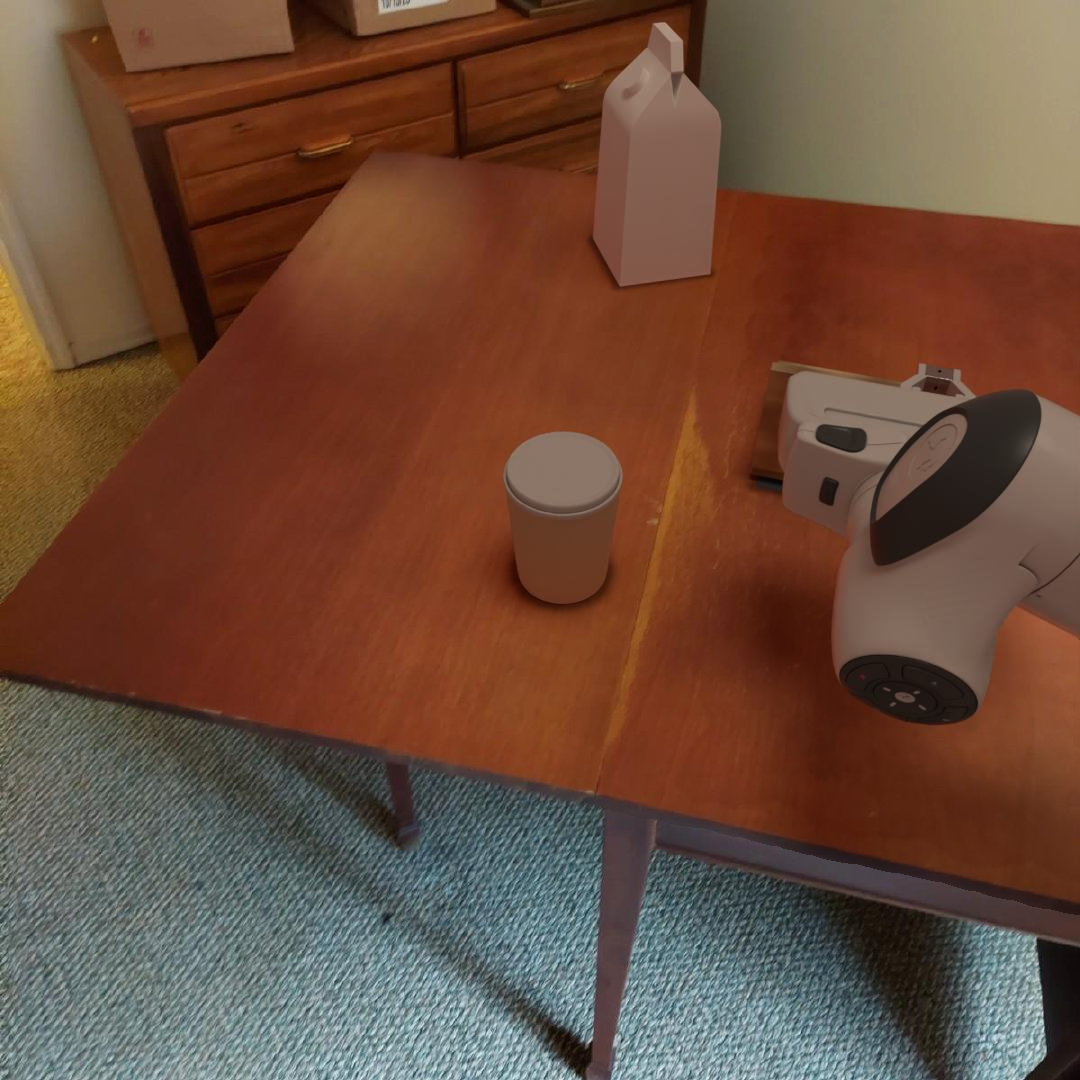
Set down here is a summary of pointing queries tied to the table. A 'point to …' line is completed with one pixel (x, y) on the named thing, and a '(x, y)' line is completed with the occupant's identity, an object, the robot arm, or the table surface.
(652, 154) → the milk
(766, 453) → the drawer
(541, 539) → the coffee cup
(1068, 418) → the robot arm
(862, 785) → the table surface
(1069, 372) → the table surface
